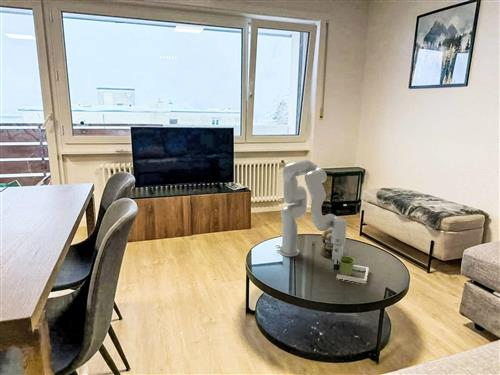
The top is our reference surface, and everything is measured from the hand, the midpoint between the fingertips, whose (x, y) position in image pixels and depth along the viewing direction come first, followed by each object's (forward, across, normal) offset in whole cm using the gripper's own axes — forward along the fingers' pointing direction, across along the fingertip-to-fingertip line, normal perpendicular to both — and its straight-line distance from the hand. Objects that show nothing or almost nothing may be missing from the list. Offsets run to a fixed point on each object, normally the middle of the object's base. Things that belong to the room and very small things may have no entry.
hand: (336, 269), depth 193 cm
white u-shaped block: (+1, 0, -9) cm, 9 cm away
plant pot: (+2, 0, -5) cm, 5 cm away
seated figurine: (+2, +23, +8) cm, 24 cm away
